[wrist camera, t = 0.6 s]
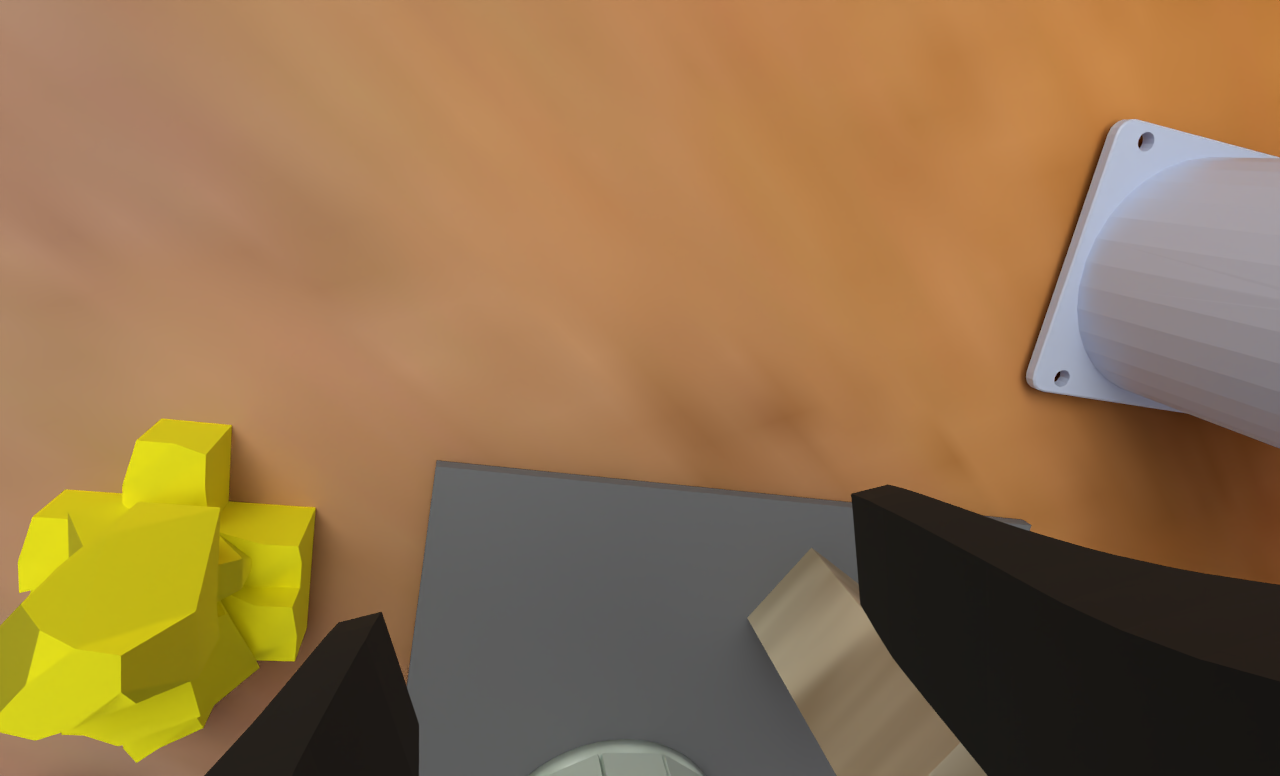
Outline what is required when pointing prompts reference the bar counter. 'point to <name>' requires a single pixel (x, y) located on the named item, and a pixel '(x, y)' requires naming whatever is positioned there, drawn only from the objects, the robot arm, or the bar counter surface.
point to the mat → (609, 620)
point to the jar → (620, 761)
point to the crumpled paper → (152, 598)
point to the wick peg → (851, 680)
